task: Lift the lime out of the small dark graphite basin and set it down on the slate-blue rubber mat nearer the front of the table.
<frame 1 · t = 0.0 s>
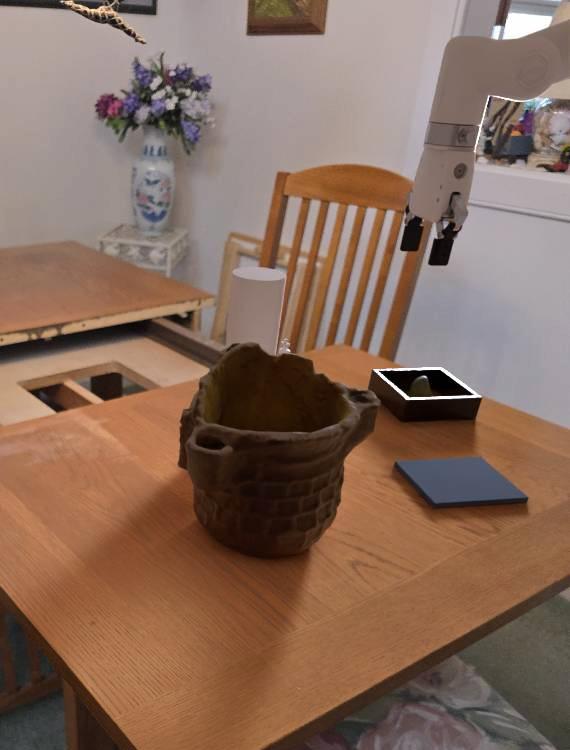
hand: (422, 257, 115), 23 cm above the table, tool pointing down, fingers open, 9 cm apart
chess piece: (277, 396, 124), on the table
cylindrical container: (239, 445, 107), on the table
basin: (419, 404, 123), on the table
mat: (457, 483, 100), on the table
ceramic vessel: (252, 534, 87), on the table
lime: (419, 405, 123), resting in basin
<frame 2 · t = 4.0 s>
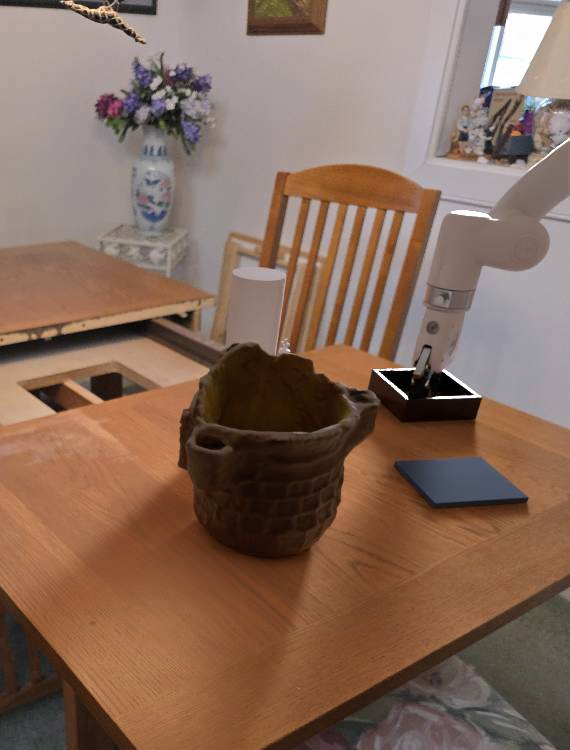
hand: (420, 401, 123), 0 cm above the table, tool pointing down, fingers closed on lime, 4 cm apart
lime: (419, 405, 123), resting in basin, touching gripper
everything else where it was.
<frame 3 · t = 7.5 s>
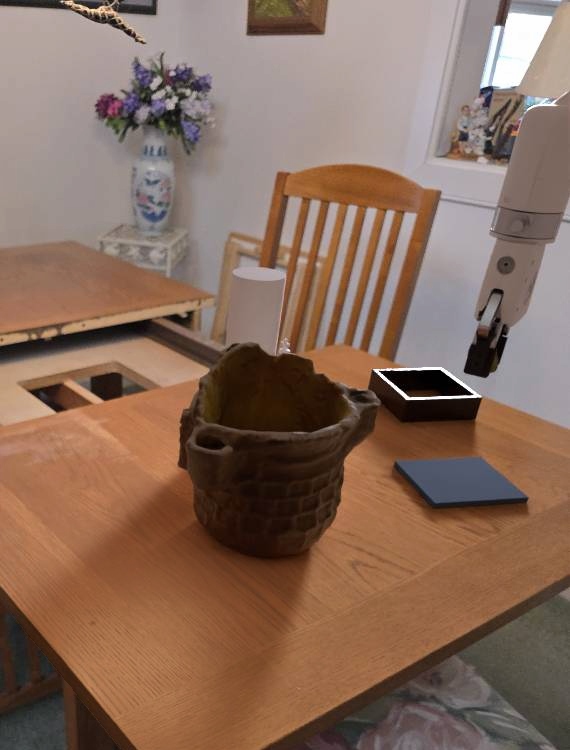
hand: (481, 367, 95), 15 cm above the table, tool pointing down, fingers closed on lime, 4 cm apart
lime: (479, 372, 96), point 15 cm above the table, touching gripper
everything else where it was.
when the fingers open (1 cm above the table, at t = 11.4 s): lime stays where it is, resting on mat.
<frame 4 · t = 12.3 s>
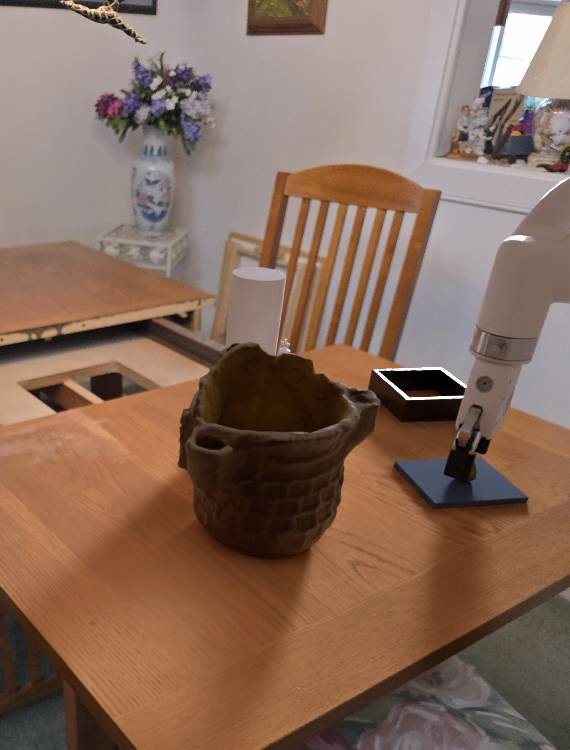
hand: (465, 463, 98), 3 cm above the table, tool pointing down, fingers open, 9 cm apart
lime: (459, 479, 100), point 1 cm above the table, touching mat
everything else where it was.
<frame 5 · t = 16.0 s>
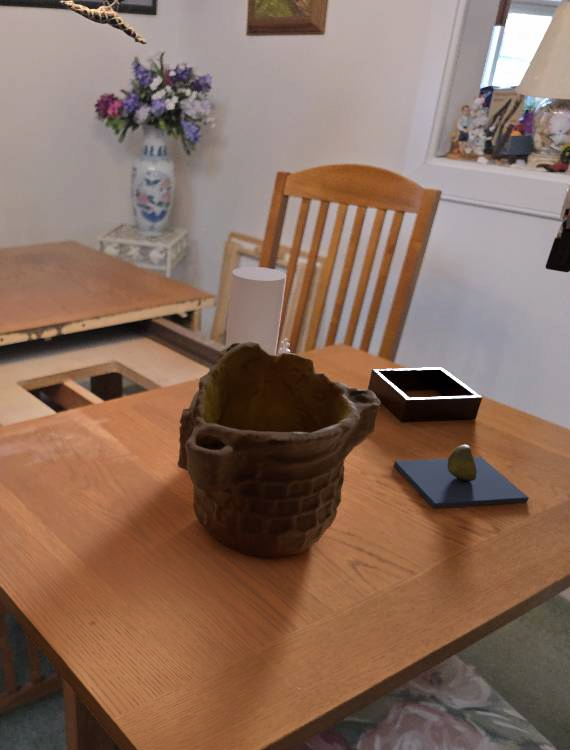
hand: (563, 264, 100), 26 cm above the table, tool pointing down, fingers open, 9 cm apart
nothing on the table moved.
at the end: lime inside the target area on the mat (0.1 cm from its centre), point 0.6 cm above the mat's base; the gripper is holding nothing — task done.
